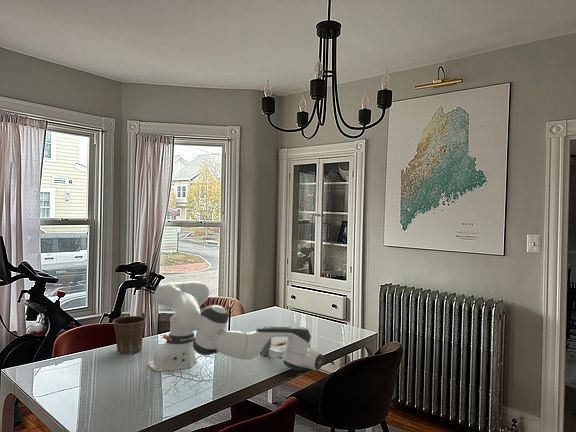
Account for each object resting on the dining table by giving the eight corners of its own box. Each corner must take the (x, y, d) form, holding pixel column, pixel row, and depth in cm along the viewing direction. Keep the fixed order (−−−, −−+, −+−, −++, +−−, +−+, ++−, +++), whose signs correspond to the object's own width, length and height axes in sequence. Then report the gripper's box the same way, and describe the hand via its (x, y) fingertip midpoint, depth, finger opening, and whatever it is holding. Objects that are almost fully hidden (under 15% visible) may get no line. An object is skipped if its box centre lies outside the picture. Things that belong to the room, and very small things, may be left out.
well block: (280, 355, 230) (280, 349, 230) (268, 350, 238) (269, 344, 238) (298, 350, 238) (298, 345, 238) (286, 346, 246) (286, 340, 246)
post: (264, 356, 228) (265, 331, 227) (260, 354, 231) (260, 329, 230) (270, 355, 230) (271, 330, 230) (266, 353, 233) (266, 328, 233)
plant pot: (118, 357, 222) (118, 325, 222) (108, 349, 235) (108, 318, 235) (150, 351, 233) (150, 320, 232) (138, 343, 245) (138, 314, 245)
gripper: (279, 364, 205) (261, 356, 216) (312, 355, 218) (293, 348, 229) (279, 350, 205) (261, 343, 216) (312, 342, 218) (294, 336, 229)
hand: (278, 345), depth 222 cm, fingers open, 8 cm apart
